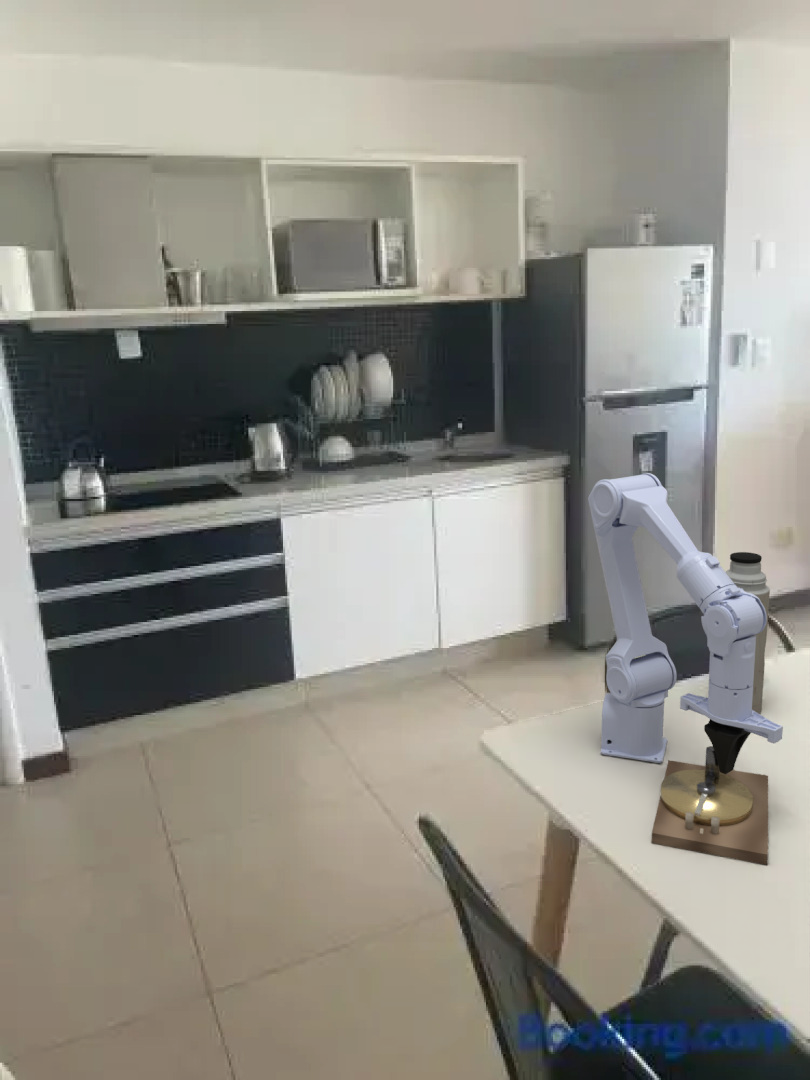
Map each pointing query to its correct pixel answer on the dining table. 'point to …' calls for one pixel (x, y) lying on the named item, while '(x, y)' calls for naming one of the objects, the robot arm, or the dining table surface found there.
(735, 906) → the dining table surface
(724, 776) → the dial
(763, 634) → the thermos bottle
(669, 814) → the walnut stand
